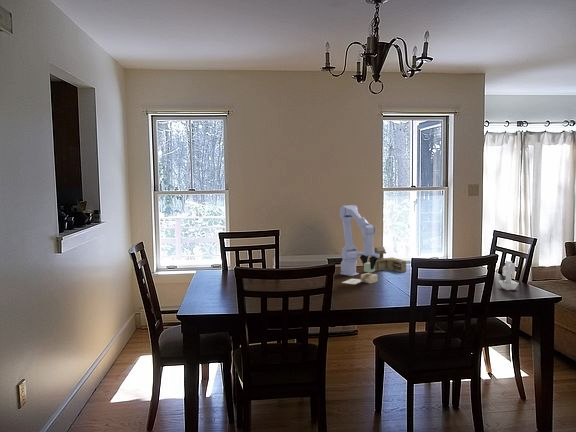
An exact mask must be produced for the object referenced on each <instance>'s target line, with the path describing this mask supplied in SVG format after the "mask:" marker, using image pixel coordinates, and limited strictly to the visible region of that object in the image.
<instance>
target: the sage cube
mask: <svg viewBox="0 0 576 432" xmlns="http://www.w3.org/2000/svg"><path fill="white" fill-rule="evenodd" d="M363 272H365V273H373V272H376V271H375V266H374V269H371V265H370V262H368V261H367V263H364V266H363Z"/></svg>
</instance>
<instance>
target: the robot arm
mask: <svg viewBox="0 0 576 432" xmlns="http://www.w3.org/2000/svg"><path fill="white" fill-rule="evenodd" d="M339 217H340V219H341V221H342V228H343V229H342V230H343V238H344V246H343V247H342V248H341V255H340V256H341V259H342V260H341V262H340V273H339V274H340V275H344V276H350V277H353V276H356V275H359V274H360V273H359V272H357V260H358V259H359V258H360V261H361V263H362V266H363V267H364V263H367V262H368V260H370V265H371V269H374V266H375V263H376V260H377V259H378V258H379V257H380V254H376V253H375V249H374V234H375V233H376V227H375V225H373V224H370V223H369V222H368V220H366V217H364V216H363V217H362V216H361V214H360V212H359V209H358V206H357V205H356V204H350V205H341V206H340V208H339ZM352 219H354V220H355V221H356V225H357V226H358V227H359V228H360V230H361V235H362V238H363V239H362V240H363V251H358V247H357V246H355V245H354V240H353V233H352V222H351V221H352ZM375 235H376V234H375Z"/></svg>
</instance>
